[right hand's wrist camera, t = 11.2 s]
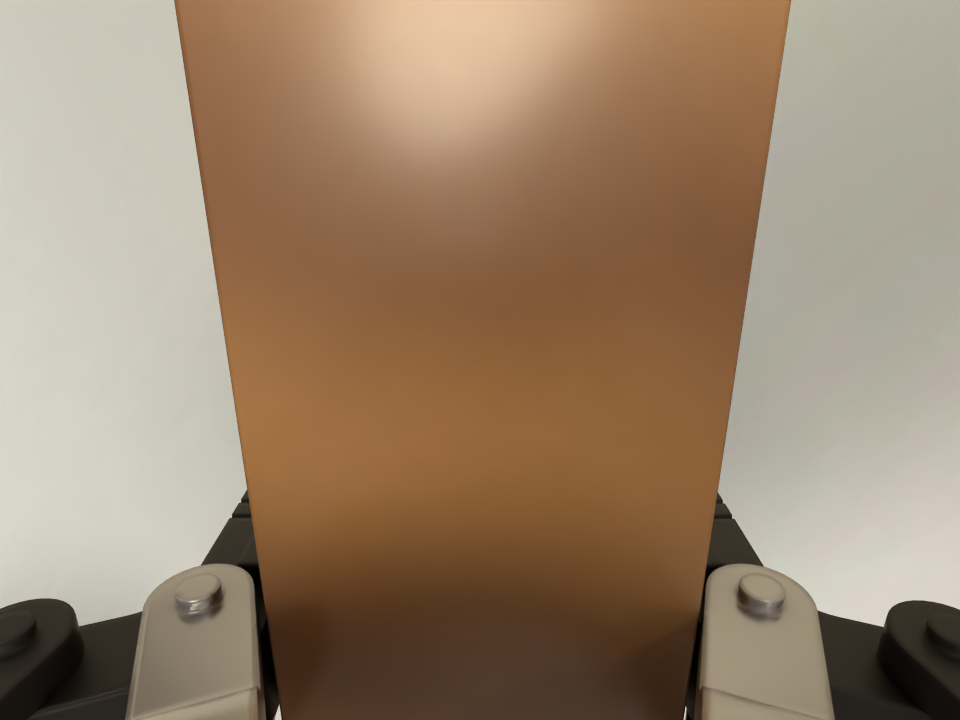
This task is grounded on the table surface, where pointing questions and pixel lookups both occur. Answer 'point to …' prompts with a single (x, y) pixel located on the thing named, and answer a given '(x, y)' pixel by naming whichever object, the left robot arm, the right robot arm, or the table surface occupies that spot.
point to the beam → (482, 334)
